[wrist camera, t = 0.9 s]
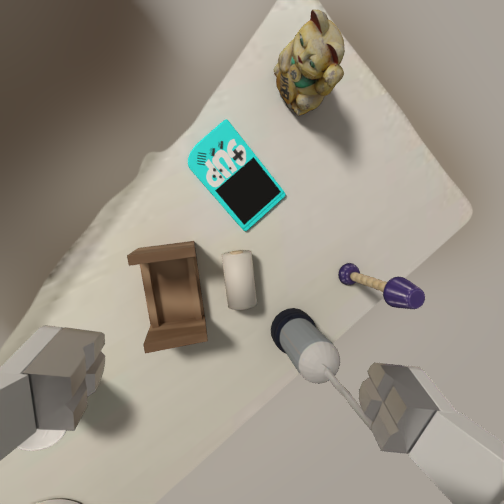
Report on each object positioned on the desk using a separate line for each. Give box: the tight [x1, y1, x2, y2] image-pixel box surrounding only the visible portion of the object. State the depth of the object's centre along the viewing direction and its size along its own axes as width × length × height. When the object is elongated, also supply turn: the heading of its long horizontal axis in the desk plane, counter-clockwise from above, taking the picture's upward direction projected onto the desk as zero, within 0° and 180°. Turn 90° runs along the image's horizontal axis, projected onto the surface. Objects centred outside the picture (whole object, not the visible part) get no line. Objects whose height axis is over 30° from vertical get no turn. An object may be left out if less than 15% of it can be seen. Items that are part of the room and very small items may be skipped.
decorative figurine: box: [274, 10, 345, 115], centre depth 40 cm, size 10×8×15 cm
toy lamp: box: [339, 263, 425, 309], centre depth 46 cm, size 5×5×17 cm
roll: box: [222, 250, 257, 310], centre depth 47 cm, size 10×5×5 cm, turn 6°
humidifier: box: [271, 308, 372, 431], centre depth 41 cm, size 8×8×25 cm
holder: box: [127, 241, 208, 353], centre depth 44 cm, size 14×9×8 cm, turn 6°
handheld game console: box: [188, 119, 286, 231], centre depth 47 cm, size 10×16×1 cm, turn 41°
